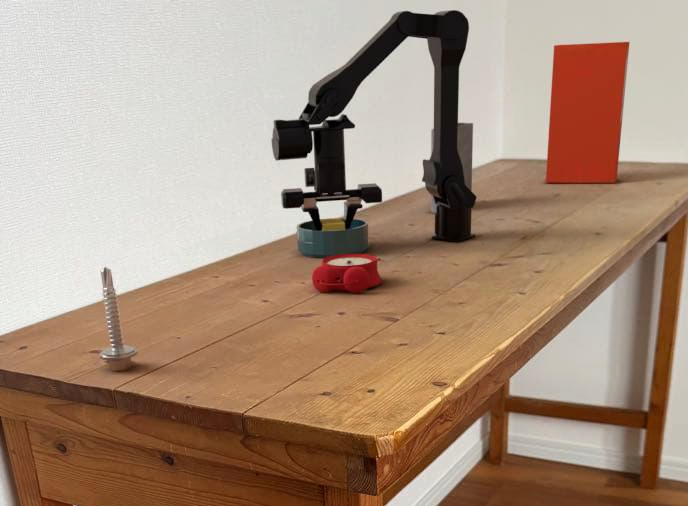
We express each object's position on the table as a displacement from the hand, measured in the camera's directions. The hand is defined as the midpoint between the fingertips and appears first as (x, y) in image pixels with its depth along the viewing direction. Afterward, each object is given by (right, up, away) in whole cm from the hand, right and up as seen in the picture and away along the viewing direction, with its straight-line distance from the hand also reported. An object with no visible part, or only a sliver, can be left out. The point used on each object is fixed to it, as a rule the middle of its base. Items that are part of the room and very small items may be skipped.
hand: (333, 242), depth 182 cm
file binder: (+66, +36, +65) cm, 99 cm away
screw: (-28, -35, -59) cm, 74 cm away
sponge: (0, -1, 0) cm, 1 cm away
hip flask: (+28, +20, +39) cm, 52 cm away
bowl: (0, -1, +1) cm, 2 cm away
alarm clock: (+2, -16, -26) cm, 30 cm away
